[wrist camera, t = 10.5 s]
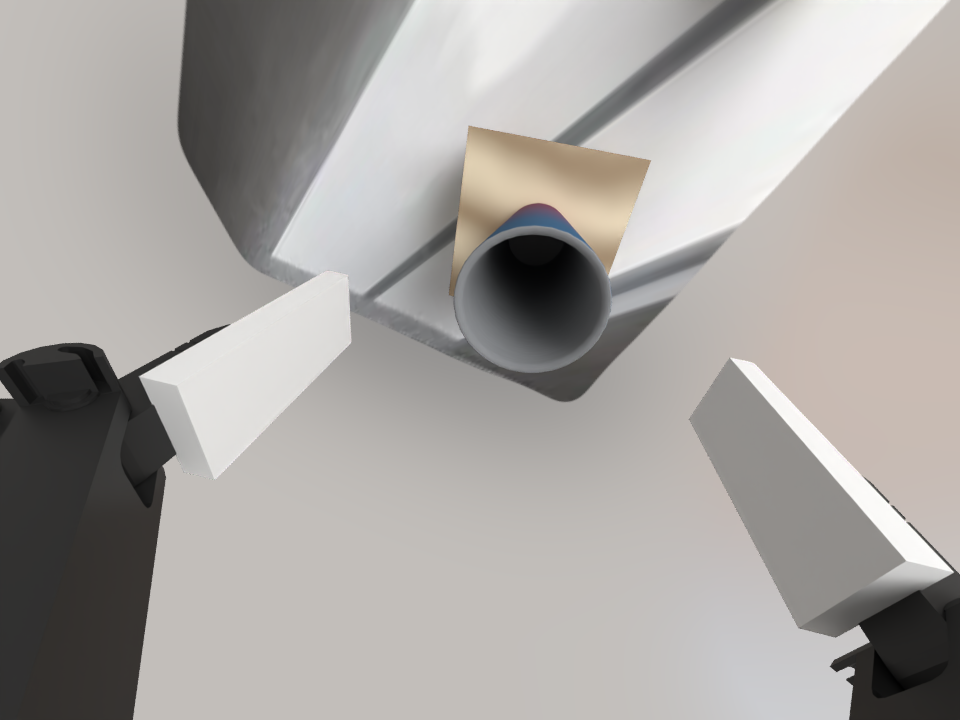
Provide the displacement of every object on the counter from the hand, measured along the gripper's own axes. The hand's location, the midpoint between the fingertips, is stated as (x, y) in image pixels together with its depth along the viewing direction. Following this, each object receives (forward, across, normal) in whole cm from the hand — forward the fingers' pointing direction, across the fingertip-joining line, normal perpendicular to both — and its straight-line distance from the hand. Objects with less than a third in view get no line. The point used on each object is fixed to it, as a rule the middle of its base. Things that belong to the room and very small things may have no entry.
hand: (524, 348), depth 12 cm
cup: (+19, 0, 0) cm, 19 cm away
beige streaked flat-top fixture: (+26, 0, 0) cm, 27 cm away
